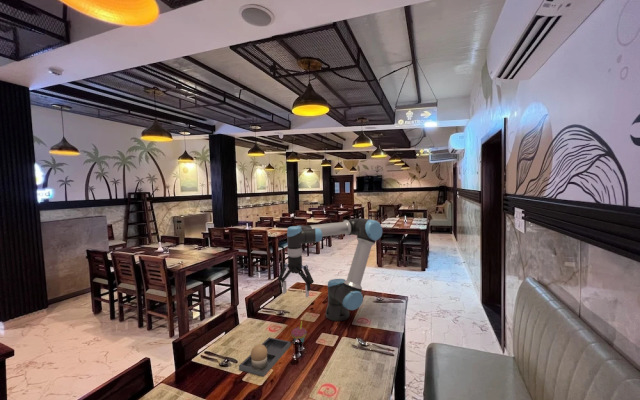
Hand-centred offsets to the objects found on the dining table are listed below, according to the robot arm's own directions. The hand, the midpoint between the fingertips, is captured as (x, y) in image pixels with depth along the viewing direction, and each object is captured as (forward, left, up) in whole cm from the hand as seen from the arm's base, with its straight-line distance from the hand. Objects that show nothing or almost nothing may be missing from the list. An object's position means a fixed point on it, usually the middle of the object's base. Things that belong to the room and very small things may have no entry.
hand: (295, 294), depth 149 cm
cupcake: (-2, +1, -25) cm, 25 cm away
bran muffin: (+6, +26, -24) cm, 36 cm away
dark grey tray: (+6, +20, -25) cm, 32 cm away
